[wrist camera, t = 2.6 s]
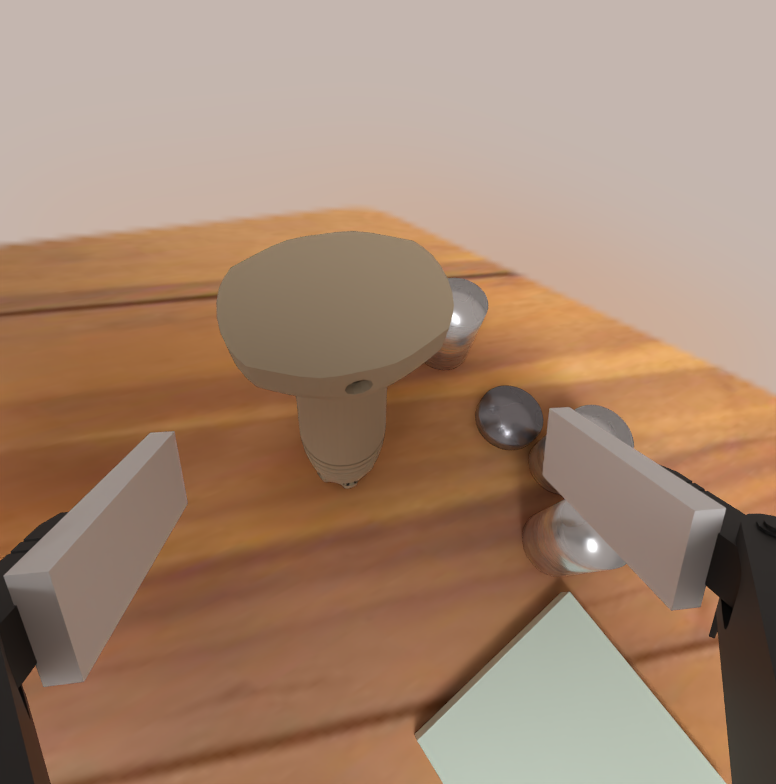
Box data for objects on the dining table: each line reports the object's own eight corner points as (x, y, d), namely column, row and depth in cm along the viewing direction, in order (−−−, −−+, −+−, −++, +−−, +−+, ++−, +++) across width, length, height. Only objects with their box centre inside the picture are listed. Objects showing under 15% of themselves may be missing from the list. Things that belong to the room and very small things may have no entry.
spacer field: (329, 328, 29) (325, 277, 25) (418, 281, 32) (429, 228, 27) (544, 601, 22) (592, 599, 18) (635, 513, 25) (696, 492, 21)
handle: (408, 489, 25) (477, 348, 11) (296, 518, 23) (227, 398, 10) (385, 414, 27) (422, 220, 13) (282, 437, 25) (208, 249, 12)
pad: (414, 734, 19) (417, 740, 19) (560, 592, 23) (569, 591, 22) (573, 996, 16) (586, 1019, 15) (718, 787, 19) (736, 795, 19)
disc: (461, 415, 27) (466, 407, 26) (504, 383, 29) (510, 375, 28) (505, 464, 26) (511, 457, 25) (548, 428, 27) (556, 420, 26)
